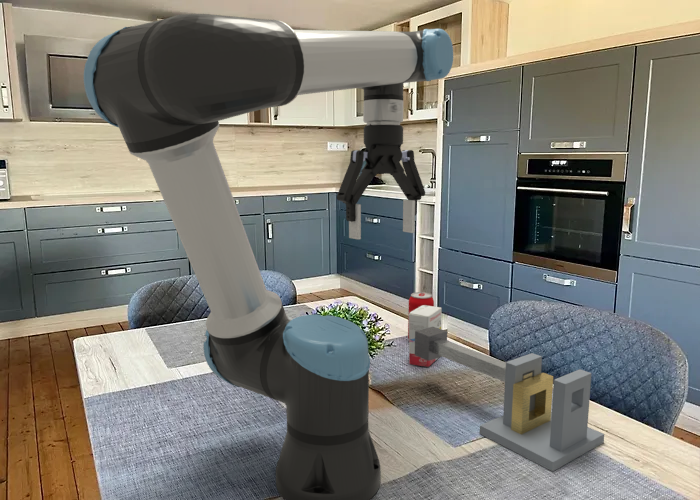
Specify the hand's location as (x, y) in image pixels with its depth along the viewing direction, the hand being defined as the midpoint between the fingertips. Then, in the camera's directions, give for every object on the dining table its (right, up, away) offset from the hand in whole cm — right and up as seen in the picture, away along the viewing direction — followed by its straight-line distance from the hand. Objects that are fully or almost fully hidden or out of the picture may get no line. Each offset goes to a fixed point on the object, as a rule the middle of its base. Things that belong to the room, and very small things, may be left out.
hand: (382, 235), depth 109 cm
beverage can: (+11, -26, +31) cm, 42 cm away
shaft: (+16, -25, -6) cm, 31 cm away
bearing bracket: (+25, -34, -17) cm, 46 cm away
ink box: (+11, -28, +18) cm, 35 cm away
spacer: (+24, -32, -16) cm, 43 cm away
